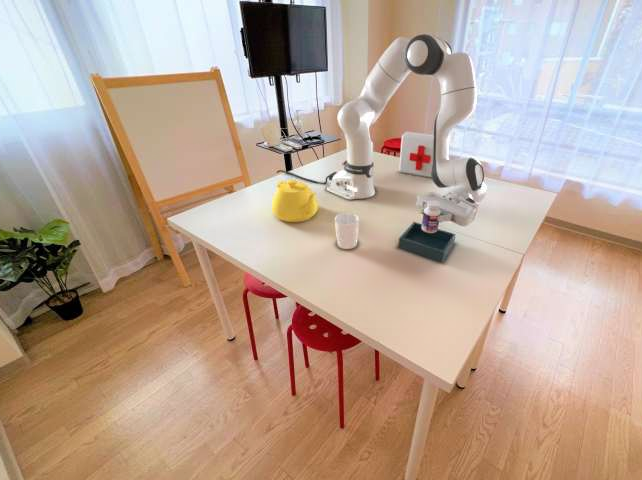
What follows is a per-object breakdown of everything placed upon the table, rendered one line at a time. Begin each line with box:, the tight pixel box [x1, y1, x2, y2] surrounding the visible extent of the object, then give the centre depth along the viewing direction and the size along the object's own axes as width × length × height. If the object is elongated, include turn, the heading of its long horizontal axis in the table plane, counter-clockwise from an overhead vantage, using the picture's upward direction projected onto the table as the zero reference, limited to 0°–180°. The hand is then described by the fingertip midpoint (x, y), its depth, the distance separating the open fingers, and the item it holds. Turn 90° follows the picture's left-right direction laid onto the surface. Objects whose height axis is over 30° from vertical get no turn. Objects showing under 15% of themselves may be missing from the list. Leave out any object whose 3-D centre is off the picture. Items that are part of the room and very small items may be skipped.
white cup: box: [334, 212, 360, 250], centre depth 103 cm, size 8×8×10 cm
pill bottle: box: [421, 201, 441, 233], centre depth 99 cm, size 5×5×10 cm
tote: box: [397, 221, 457, 263], centre depth 105 cm, size 16×13×4 cm
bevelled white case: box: [398, 131, 434, 179], centre depth 154 cm, size 21×8×20 cm, turn 68°
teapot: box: [271, 179, 319, 223], centre depth 118 cm, size 25×18×14 cm
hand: (430, 215), depth 99 cm, fingers closed on pill bottle, 5 cm apart
